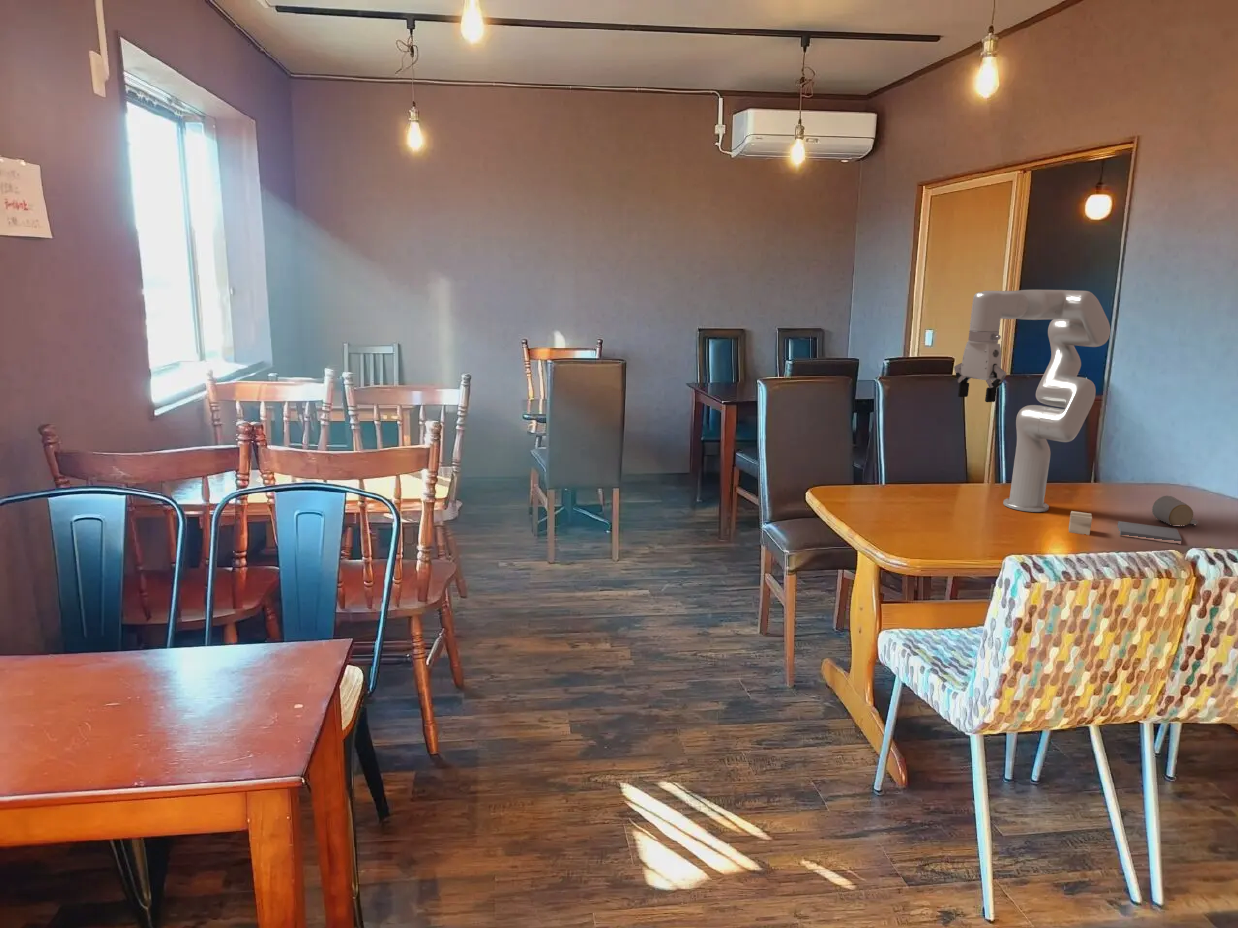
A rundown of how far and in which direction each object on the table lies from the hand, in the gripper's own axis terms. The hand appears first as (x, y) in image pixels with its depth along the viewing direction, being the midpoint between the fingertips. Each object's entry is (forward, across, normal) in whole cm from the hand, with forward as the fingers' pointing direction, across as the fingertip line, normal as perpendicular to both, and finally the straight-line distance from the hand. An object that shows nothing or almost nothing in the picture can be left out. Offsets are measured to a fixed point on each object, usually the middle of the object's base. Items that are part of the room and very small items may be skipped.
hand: (976, 399), depth 227 cm
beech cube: (+36, -19, -24) cm, 47 cm away
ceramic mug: (+36, -24, -58) cm, 72 cm away
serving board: (+36, -28, -39) cm, 60 cm away
